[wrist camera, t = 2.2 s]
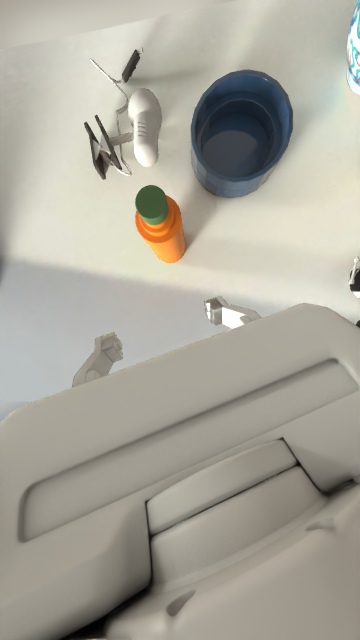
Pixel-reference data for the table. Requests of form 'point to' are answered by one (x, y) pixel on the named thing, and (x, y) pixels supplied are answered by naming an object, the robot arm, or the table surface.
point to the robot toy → (355, 281)
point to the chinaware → (354, 51)
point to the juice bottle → (160, 223)
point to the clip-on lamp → (143, 121)
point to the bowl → (240, 132)
